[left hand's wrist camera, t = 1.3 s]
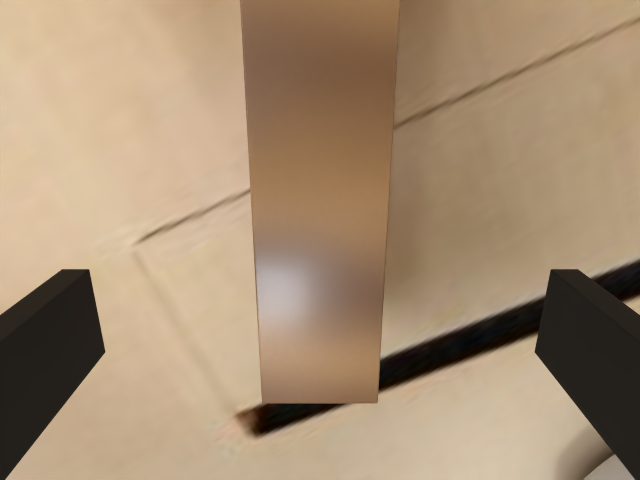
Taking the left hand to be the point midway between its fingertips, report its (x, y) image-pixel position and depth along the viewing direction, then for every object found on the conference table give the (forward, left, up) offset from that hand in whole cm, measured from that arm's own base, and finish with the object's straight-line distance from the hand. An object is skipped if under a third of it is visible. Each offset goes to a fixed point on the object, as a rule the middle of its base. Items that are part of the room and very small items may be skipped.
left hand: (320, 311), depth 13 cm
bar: (+20, +4, -13) cm, 24 cm away
